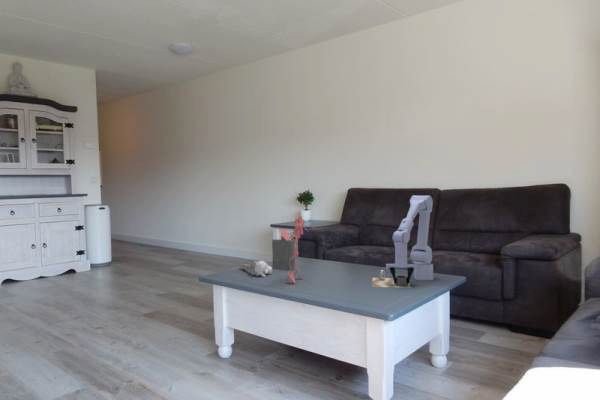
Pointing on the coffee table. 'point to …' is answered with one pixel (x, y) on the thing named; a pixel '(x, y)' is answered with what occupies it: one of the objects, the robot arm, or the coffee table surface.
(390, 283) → the board
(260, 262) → the white lumpy shape
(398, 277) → the ring
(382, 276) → the post
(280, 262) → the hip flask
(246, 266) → the wrench
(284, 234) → the figurine
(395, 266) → the robot arm
